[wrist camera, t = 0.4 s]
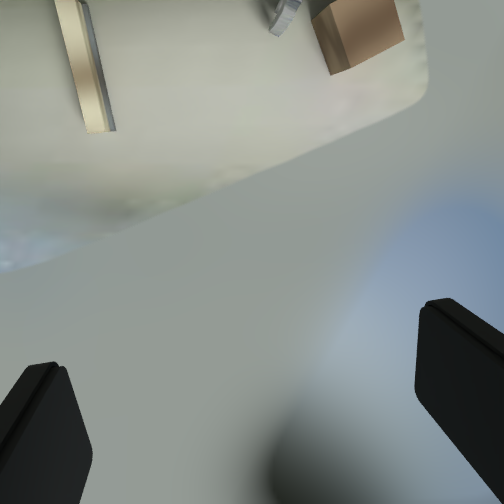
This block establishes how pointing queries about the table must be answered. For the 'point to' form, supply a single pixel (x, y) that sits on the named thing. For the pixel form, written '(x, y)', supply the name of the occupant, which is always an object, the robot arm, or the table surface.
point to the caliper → (284, 16)
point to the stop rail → (85, 65)
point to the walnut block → (356, 31)
